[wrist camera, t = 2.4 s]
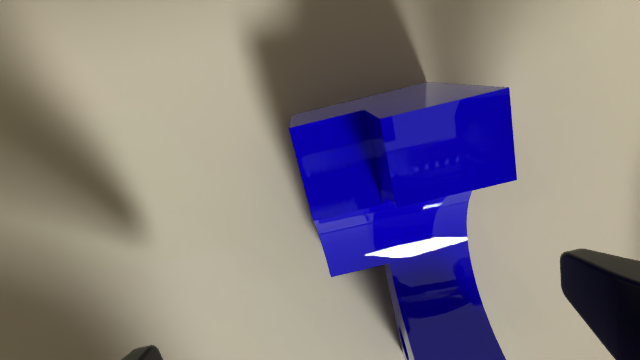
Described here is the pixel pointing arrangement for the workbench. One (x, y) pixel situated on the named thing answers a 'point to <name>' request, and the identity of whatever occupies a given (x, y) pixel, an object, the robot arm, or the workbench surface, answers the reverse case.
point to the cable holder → (410, 201)
